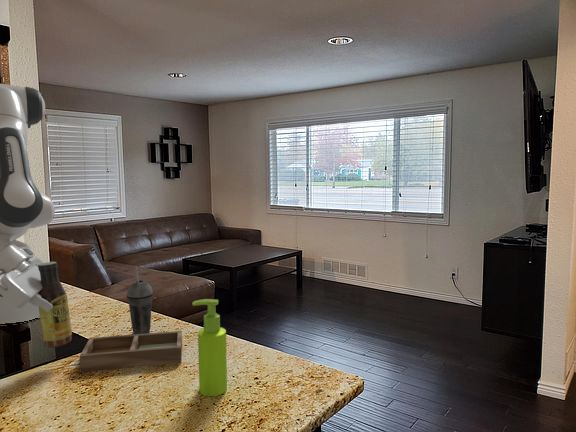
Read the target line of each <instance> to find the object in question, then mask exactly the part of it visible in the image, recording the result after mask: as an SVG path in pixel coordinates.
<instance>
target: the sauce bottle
mask: <svg viewBox="0 0 576 432" xmlns="http://www.w3.org/2000/svg"><path fill="white" fill-rule="evenodd" d="M58 268H59V265H58V263H57V261H47V262H44V263H42V264H39V265H38V270H39V271H40V277H41V284H42V290H40V291H39V292H38V294H39V295H40V296H41V298H43V299H45V300H47V301H48V300H49V301H50V302H51V303H53V304H54V306H53V308H52V309H51V310H50V311H49V312H46V311H45V310H44V309H42V308H40V307H39V314H40V318H39V320H40V327H41V328H40V329H41V333H42V340H43V342H44V347H46V348H48V349H52V348H53V349H54V348H58V347H59V348H60V347H62V346H65V345H67V344H69V343H70V342H71V341H72V340H73V339H72V338H73V330H72V324H71V316H70V309H69V303H68V302H69V301H68V296H67V295H68V294H67V292H66V290H65V288H64V287H63V285H62V283H61V281H60V277H59V274H58Z"/></svg>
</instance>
